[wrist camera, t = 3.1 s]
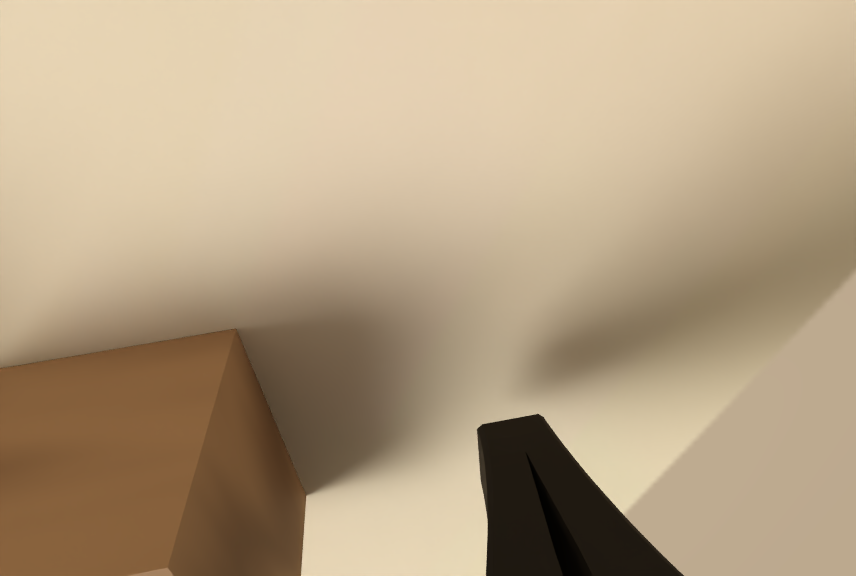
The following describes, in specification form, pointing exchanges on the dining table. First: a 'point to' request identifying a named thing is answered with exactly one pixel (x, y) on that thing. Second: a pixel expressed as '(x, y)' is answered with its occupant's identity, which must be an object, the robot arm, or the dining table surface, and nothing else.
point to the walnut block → (146, 466)
